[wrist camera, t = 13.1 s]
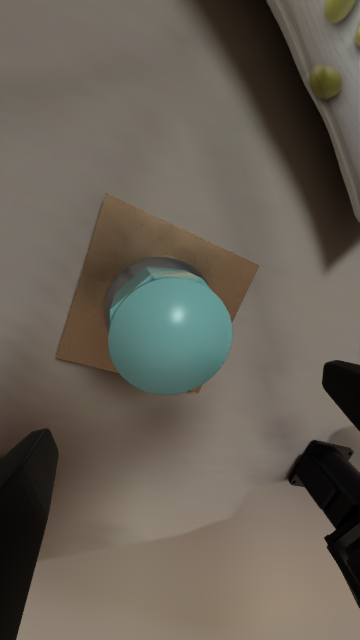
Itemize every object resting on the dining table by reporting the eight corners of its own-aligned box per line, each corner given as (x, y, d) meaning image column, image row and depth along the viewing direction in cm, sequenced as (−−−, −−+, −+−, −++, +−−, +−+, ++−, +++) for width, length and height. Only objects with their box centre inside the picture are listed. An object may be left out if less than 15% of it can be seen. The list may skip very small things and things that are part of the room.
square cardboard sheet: (253, 264, 19) (292, 271, 14) (195, 386, 22) (213, 426, 17) (107, 196, 15) (97, 175, 11) (59, 351, 18) (35, 389, 13)
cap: (156, 370, 18) (165, 414, 13) (94, 310, 16) (78, 339, 11) (221, 316, 18) (253, 343, 13) (167, 247, 15) (183, 249, 11)
